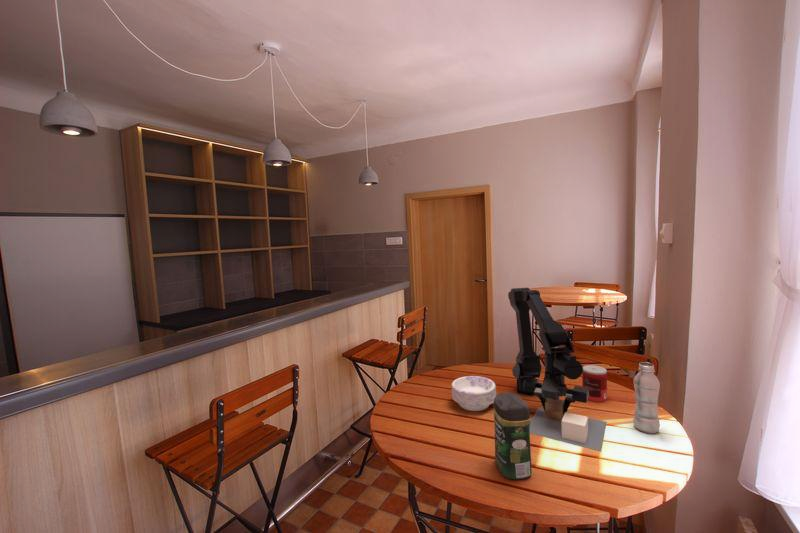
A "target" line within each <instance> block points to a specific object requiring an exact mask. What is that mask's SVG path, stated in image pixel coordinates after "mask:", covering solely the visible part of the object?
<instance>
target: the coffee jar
mask: <svg viewBox="0 0 800 533" xmlns="http://www.w3.org/2000/svg"><path fill="white" fill-rule="evenodd" d="M530 409H531V408H530V405H528V403H527V402H526V400H524V399H523V398H522V397H521V396H519V395H517V394H515V393H514V392H501V393H498V394H496V397H495V398H494V402H493V418H494V419H493V421H494V460H495V464H496V466H497V468H498V469H499V471H500V473H501V474H502V475H503V476H504V477H505V478H508V479H512V480H515V481H516V480H523V479H527V478H529V477H531V475H532V474H533V472H532V454H531V438H530V437H531V433H530V421H531V410H530Z"/></svg>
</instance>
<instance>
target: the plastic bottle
mask: <svg viewBox="0 0 800 533" xmlns="http://www.w3.org/2000/svg"><path fill="white" fill-rule="evenodd" d="M638 364H639V365H638V372H637V373H636V374H635V376H634V377H633V387H634V393H635V394H634V395H635V406H634V413H633V417H632V418H633V419H632V422H633V426H634V428H636V429H637V430H638V431H640V432H642V433H645V434H651V435H654V434H657V433H658V432H659V430H660V427H661V423H660V418H659V412H658V403H659V400H658V399H659V394H660V387H661V384H660V383H661V382H660V380H659V379H658V378H657V376H656V375H655V374H654V373H655V365H654V364H652V363H650V362H639V363H638Z"/></svg>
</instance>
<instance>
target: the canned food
mask: <svg viewBox="0 0 800 533" xmlns="http://www.w3.org/2000/svg"><path fill="white" fill-rule="evenodd" d="M582 367H583V372H582V374H581V377H582V380H581V381H582V386H581V387H587V388H588V390H589V397H588V400H587V401H588V402H589V401H590V402H594V403H604V402H607V400H608V372H607V369H606V368H605V367H603V366H599V365H595V364H594V365H593V364H590V365H588V364H587V365H584V366H583V365H582Z"/></svg>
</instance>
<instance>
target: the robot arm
mask: <svg viewBox="0 0 800 533" xmlns="http://www.w3.org/2000/svg"><path fill="white" fill-rule="evenodd" d="M507 293H508V294H507V296H508V300H509V304H510V306H511V307H512V309H513V310H514V312H515V318H516V319H515V320H516V326H517V328H516V329H517V335H518V344H519V351H518V353H517V356H516V358H515V362H516V363H515V364H514V366H513V368H512V370H511V371H512V376H513V377H514V378H516V391H515V393H517V394H520V395H525V396H529V397H534V396H537V398H538V399H539V401H540V403H541V406H542V408H544V411H545V402H546V400H547V399H548V398H550V399H553V400H558V399H560V397H565V398H564V399H563V400H564V411H563V416H564V414H565V412H567V413H568V410H569V409H570V408H569V407H570V405H571V404H572V403H573V404H574V403H576V402H578V403H579V402H580V403H585V404H586V403H588V401H589V400H588V397H589V390H588V388H587V387H582V386H580V385H574V386H573V388H571V387H570V388H569V387H567V384H566V382H565V381H566V378H568V379H569V380H573V381H574V380H577V379H578V378H580V377H582V372H583V364H582V363H581V362H580V361H578V360H577V356H576V355H574V354H573V353H575V349H574V344H573V343H572V341H571V339H570V336H569V334H568V332H567V331H566V329H565V328H564V327H563V325H562V324H561V323H559V322H557V321H556V320H554V318H553V317H552V314H551V313H550V311H549V310H548V308H547V306H546V304H545V303H544V301H543V299H542V298H541V292H540V291H539V290H537V289H530V288H529V287H516V288H514V287H513V288H511V289H510V291H509V292H507ZM530 312H531V314H532V316H533V317H534V319H535V321H536V323H537V325H538V328H539V331H538V336H539V339H540V342H541V344H542V345H543V346H542V347H541V349H542V351H544V376H543V380H542V382H540V377H541V374H542V364H541V363H542V362H541V357H540V355H538V354H537V353H536V352H535V351H534V343H533V334H532V326H531V325H532V323H531V316H530ZM565 377H566V378H565Z"/></svg>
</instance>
